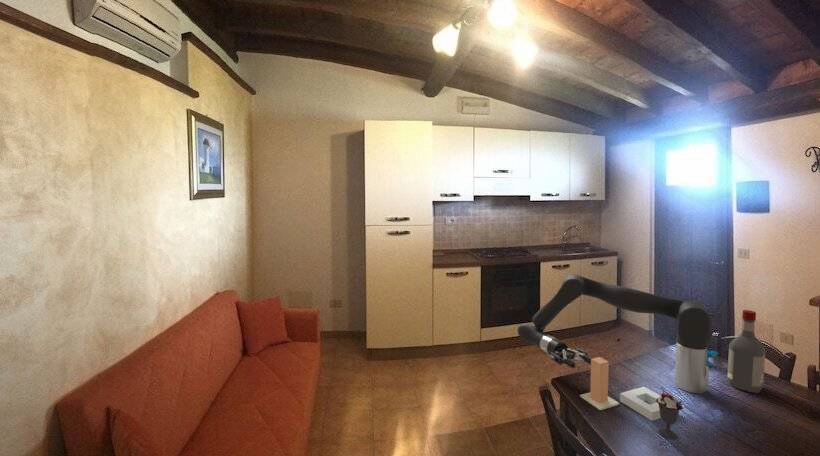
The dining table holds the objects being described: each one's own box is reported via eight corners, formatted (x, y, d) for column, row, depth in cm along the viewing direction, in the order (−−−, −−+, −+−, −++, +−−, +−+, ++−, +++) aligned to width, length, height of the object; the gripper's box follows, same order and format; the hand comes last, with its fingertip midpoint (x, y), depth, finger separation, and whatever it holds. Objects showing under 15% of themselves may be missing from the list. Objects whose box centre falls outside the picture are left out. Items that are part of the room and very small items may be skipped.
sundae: (649, 427, 111) (651, 383, 109) (668, 425, 111) (670, 382, 110) (666, 441, 104) (668, 395, 103) (686, 440, 105) (688, 394, 103)
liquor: (764, 387, 131) (769, 312, 128) (758, 395, 126) (763, 317, 123) (732, 377, 138) (736, 306, 136) (725, 385, 133) (729, 311, 130)
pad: (598, 391, 132) (598, 390, 132) (619, 404, 123) (619, 403, 123) (580, 396, 129) (580, 394, 129) (600, 410, 120) (600, 408, 120)
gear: (711, 356, 153) (720, 348, 146) (718, 369, 149) (728, 362, 142) (683, 357, 155) (691, 350, 148) (690, 371, 152) (698, 364, 144)
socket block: (643, 394, 129) (643, 386, 129) (677, 412, 118) (677, 404, 117) (619, 400, 125) (620, 393, 125) (651, 420, 114) (652, 412, 114)
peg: (598, 394, 128) (599, 356, 127) (607, 400, 125) (608, 361, 123) (590, 397, 127) (591, 358, 126) (599, 403, 123) (600, 363, 122)
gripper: (539, 341, 145) (568, 358, 129) (566, 335, 149) (597, 351, 134) (539, 357, 145) (568, 376, 130) (566, 352, 150) (597, 369, 134)
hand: (583, 364), depth 132 cm, fingers open, 8 cm apart
